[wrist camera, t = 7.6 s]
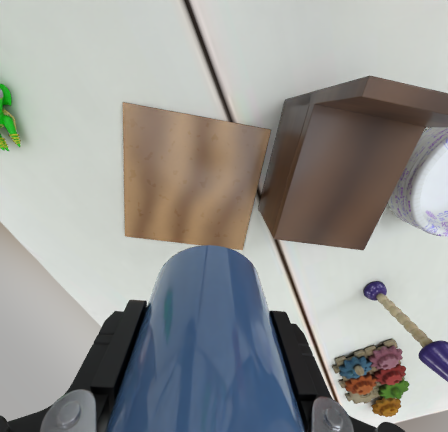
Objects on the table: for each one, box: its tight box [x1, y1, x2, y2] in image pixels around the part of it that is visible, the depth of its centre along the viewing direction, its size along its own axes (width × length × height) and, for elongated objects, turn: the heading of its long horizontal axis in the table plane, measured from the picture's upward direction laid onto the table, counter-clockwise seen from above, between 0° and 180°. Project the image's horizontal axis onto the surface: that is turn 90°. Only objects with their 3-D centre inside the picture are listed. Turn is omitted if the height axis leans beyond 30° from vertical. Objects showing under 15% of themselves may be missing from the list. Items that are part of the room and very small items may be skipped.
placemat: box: [123, 102, 271, 250], centre depth 33 cm, size 20×20×1 cm
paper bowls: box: [388, 127, 448, 236], centre depth 30 cm, size 15×15×8 cm
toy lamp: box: [364, 281, 448, 382], centre depth 36 cm, size 5×5×17 cm
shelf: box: [258, 76, 448, 250], centre depth 25 cm, size 12×16×17 cm
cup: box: [104, 245, 306, 432], centre depth 8 cm, size 6×6×10 cm
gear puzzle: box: [333, 340, 409, 417], centre depth 55 cm, size 31×16×4 cm, turn 26°
